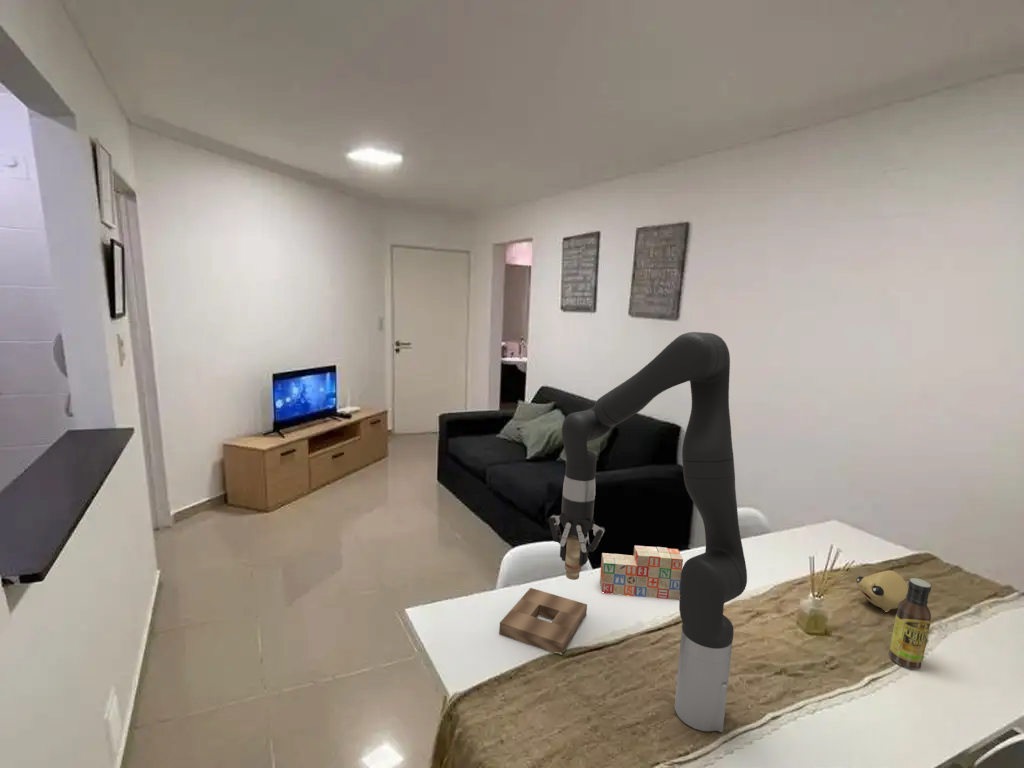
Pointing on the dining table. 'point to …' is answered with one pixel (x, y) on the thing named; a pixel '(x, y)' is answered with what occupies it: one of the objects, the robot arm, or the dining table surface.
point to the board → (540, 632)
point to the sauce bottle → (911, 626)
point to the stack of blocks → (643, 573)
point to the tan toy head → (883, 589)
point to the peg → (573, 557)
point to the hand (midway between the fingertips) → (573, 561)
